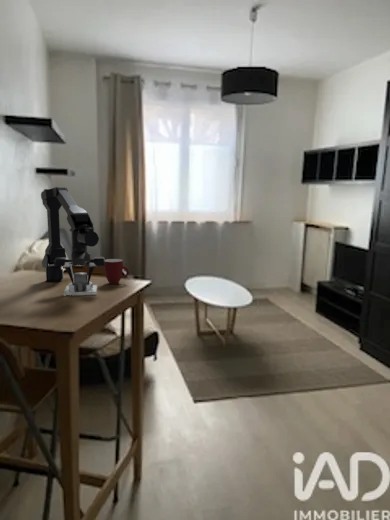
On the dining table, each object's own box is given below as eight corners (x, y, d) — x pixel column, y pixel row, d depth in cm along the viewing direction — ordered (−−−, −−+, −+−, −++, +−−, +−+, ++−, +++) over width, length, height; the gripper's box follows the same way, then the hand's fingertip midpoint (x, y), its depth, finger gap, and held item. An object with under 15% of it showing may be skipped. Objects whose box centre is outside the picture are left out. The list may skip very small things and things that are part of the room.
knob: (75, 287, 161) (74, 272, 160) (87, 286, 162) (87, 272, 161) (73, 290, 155) (73, 275, 154) (86, 290, 156) (86, 274, 155)
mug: (128, 280, 180) (128, 258, 178) (129, 284, 172) (129, 261, 170) (104, 281, 177) (103, 259, 176) (104, 285, 170) (103, 262, 168)
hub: (63, 295, 152) (63, 287, 152) (67, 288, 164) (66, 280, 163) (96, 294, 155) (95, 286, 154) (97, 287, 166) (97, 279, 166)
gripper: (51, 246, 146) (53, 288, 149) (103, 246, 150) (104, 287, 153) (55, 243, 157) (57, 282, 160) (104, 242, 161) (105, 280, 164)
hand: (80, 283), depth 159 cm, fingers open, 6 cm apart
